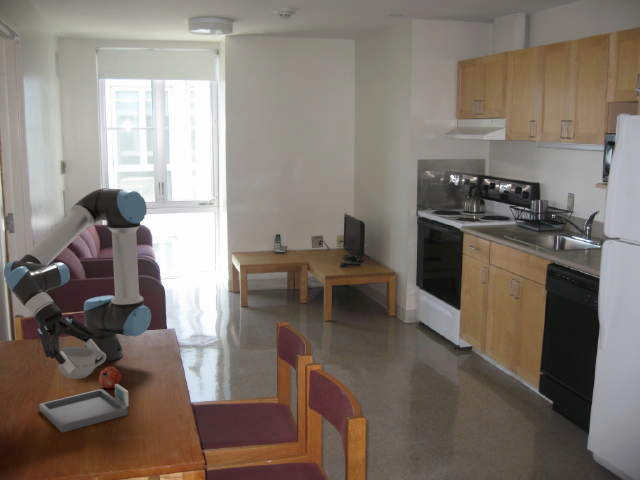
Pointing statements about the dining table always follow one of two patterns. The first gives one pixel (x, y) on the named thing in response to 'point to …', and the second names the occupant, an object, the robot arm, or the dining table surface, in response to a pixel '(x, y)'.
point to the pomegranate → (109, 377)
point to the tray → (82, 410)
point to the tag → (121, 395)
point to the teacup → (81, 361)
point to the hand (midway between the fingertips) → (87, 363)
